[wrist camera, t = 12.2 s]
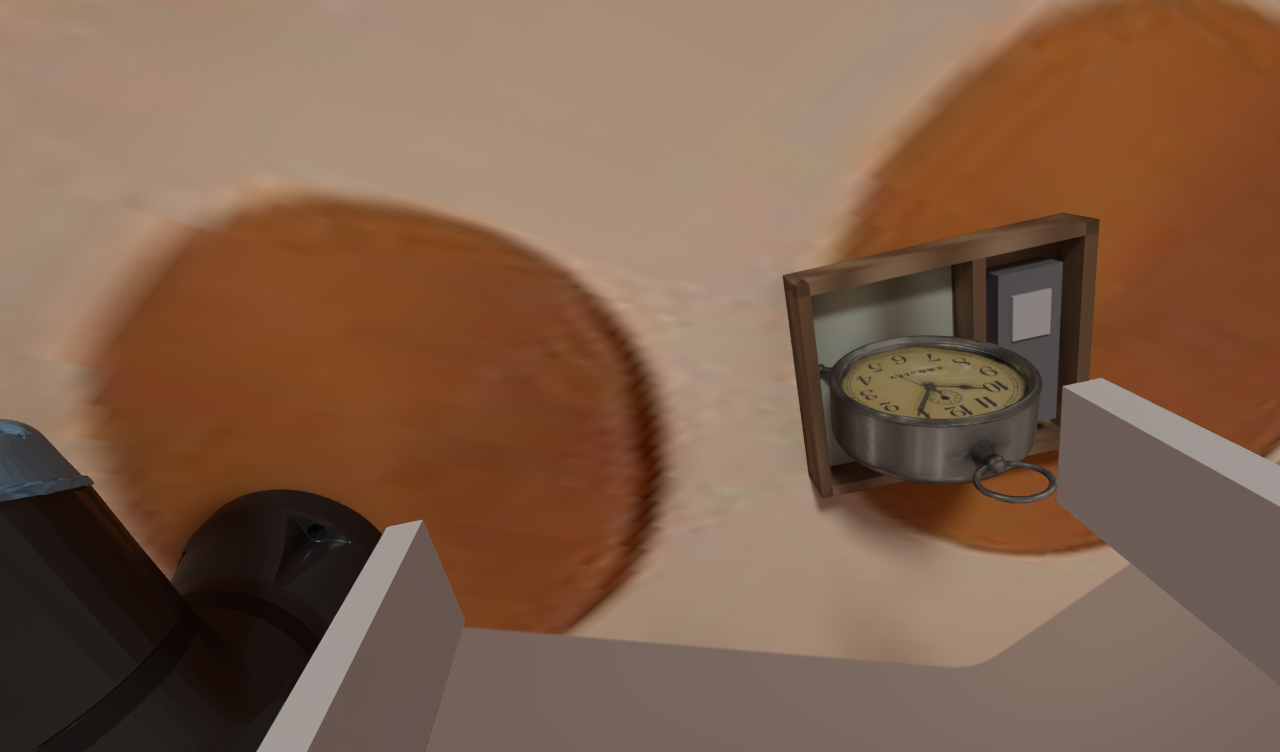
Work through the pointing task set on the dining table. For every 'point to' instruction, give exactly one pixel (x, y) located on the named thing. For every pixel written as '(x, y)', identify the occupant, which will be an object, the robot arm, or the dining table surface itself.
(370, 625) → the robot arm
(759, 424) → the dining table surface
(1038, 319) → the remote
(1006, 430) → the alarm clock
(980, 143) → the dining table surface
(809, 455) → the organizer tray
